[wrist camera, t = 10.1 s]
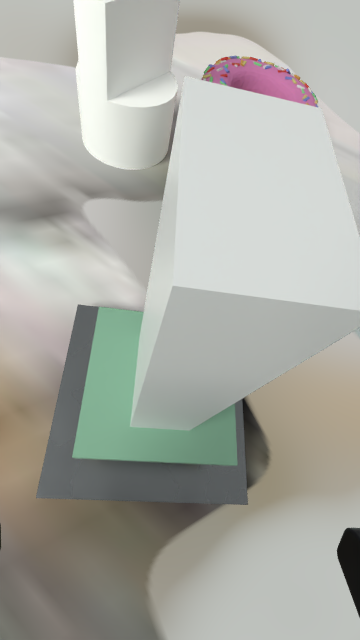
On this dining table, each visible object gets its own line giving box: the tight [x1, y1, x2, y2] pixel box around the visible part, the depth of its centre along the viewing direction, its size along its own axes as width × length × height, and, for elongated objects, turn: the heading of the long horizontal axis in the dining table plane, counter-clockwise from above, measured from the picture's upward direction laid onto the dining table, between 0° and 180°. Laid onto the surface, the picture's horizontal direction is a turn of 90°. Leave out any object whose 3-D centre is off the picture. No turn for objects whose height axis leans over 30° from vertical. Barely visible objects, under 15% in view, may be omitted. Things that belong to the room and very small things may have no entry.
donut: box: [202, 56, 318, 107], centre depth 36 cm, size 14×14×5 cm
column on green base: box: [72, 76, 360, 466], centre depth 11 cm, size 8×8×14 cm
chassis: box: [36, 305, 248, 505], centre depth 19 cm, size 12×12×4 cm
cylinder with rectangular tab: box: [74, 0, 180, 170], centre depth 28 cm, size 9×9×12 cm
